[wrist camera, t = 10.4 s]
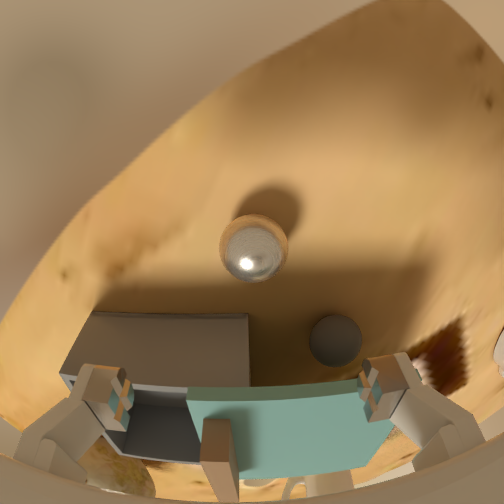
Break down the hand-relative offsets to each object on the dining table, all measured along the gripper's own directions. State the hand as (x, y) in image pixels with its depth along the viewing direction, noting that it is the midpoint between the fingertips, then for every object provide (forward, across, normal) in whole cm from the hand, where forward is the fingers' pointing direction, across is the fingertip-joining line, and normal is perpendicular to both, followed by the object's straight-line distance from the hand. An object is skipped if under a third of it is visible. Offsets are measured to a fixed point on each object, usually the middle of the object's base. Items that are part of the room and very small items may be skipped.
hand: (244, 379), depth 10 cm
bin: (+12, +6, +13) cm, 19 cm away
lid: (+4, -4, +13) cm, 14 cm away
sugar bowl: (+12, +21, +35) cm, 43 cm away
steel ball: (+12, -1, 0) cm, 12 cm away
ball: (+11, -7, +8) cm, 16 cm away
